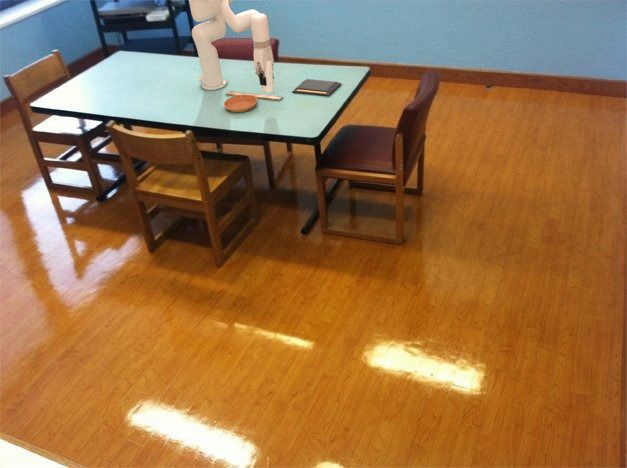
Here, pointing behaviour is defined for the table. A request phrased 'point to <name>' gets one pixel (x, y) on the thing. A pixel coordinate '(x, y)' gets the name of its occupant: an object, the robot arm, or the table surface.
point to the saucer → (240, 103)
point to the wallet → (317, 87)
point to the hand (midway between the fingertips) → (267, 81)
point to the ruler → (260, 96)
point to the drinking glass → (268, 77)
